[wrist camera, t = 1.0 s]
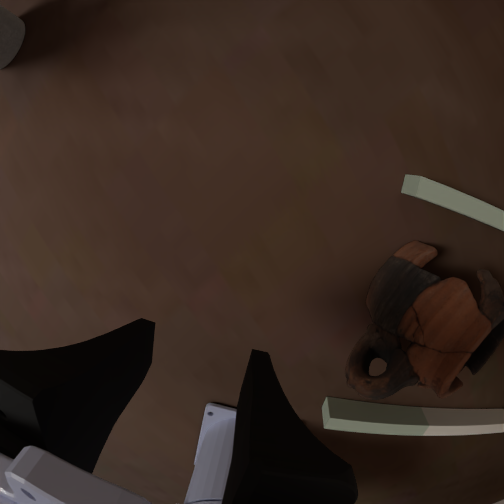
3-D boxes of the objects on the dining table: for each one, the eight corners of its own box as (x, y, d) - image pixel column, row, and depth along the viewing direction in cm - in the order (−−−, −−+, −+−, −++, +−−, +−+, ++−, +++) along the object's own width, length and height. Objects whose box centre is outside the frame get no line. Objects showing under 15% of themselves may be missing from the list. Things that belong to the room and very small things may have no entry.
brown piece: (439, 203, 19) (535, 265, 12) (442, 287, 25) (507, 344, 18) (297, 312, 19) (379, 421, 12) (335, 374, 24) (391, 451, 18)
